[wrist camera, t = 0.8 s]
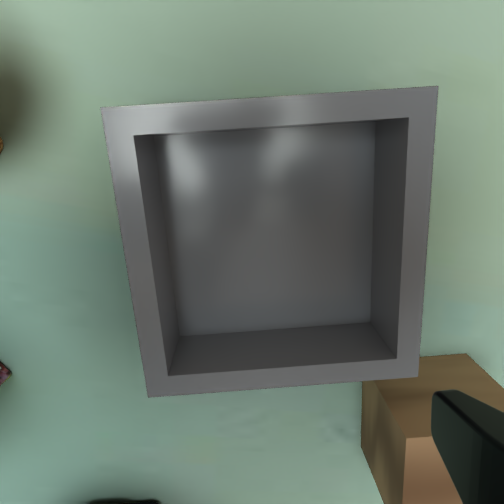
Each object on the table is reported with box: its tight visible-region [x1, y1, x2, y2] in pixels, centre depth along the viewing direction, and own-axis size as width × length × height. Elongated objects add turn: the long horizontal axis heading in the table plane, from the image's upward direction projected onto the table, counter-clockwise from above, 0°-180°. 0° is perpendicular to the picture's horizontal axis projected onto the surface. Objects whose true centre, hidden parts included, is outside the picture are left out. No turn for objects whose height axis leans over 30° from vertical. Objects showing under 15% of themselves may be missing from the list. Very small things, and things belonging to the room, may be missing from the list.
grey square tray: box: [100, 86, 438, 397], centre depth 17 cm, size 12×12×4 cm
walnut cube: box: [361, 354, 504, 504], centre depth 20 cm, size 6×6×6 cm
